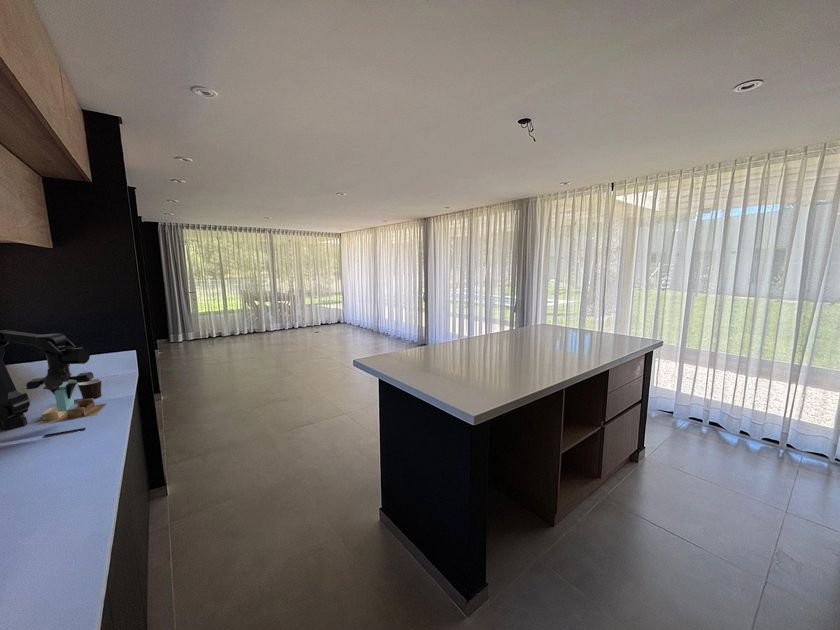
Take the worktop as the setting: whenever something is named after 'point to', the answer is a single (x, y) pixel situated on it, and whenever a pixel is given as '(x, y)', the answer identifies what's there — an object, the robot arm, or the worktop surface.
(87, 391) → the coffee mug
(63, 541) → the worktop surface
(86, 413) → the walnut rack
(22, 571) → the worktop surface
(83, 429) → the charcoal mat
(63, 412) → the oak offcut lower
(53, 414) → the oak offcut upper
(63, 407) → the teal rectangular block
